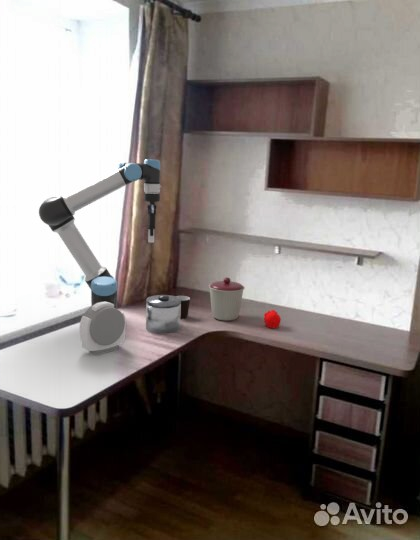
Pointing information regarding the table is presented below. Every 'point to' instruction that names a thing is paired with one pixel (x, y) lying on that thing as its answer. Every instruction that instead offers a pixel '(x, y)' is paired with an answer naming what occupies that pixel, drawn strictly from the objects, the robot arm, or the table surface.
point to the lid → (163, 301)
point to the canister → (226, 299)
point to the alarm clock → (102, 328)
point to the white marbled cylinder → (163, 319)
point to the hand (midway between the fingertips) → (151, 242)
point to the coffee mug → (184, 306)
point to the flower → (272, 319)
